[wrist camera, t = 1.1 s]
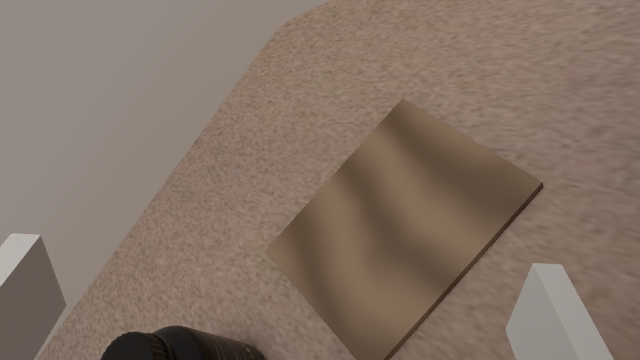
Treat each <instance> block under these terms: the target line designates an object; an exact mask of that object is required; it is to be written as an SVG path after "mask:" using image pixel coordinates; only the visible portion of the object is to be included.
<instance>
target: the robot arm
mask: <svg viewBox="0 0 640 360" xmlns="http://www.w3.org/2000/svg"><path fill="white" fill-rule="evenodd" d="M65 307H66V303H65V300H64V297H63V294H62V292H61V289H60V287H59V284H58V281H57V278H56V275H55V273H54V270H53V267H52V265H51V262H50V259H49V257H48V254H47V251H46V248H45V246H44V243H43V240H42V238H41V235H30V234H14V233H13V234H11V235H10V236H9V237H8V238H7V240H6V241H5V242H4V243H3V244H2V246H1V247H0V360H34V359H35V357H36V355H37V354H38V352H39V350H40V349H41V347H42V345H43V344H44V342H45V340H46V339H47V337H48V335H49V334H50V332H51V330H52V328H53V327H54V325H55V323H56V322H57V320H58V319H59V317H60V315H61V314H62V312H63V310H64V309H65ZM505 331H506V334H507V336H508V339H509V342H510V345H511V348H512V350H513V353H514V356H515V359H516V360H614V359H613V357H612V356H611V354H610V352H609V350H608V348H607V346H606V345H605V343H604V341H603V339H602V337H601V336H600V334H599V332H598V330H597V328H596V326H595V325H594V323H593V321H592V319H591V317H590V316H589V314H588V312H587V310H586V308H585V306H584V305H583V303H582V301H581V299H580V297H579V295H578V294H577V292H576V290H575V288H574V286H573V285H572V283H571V281H570V279H569V277H568V275H567V274H566V272H565V270H564V268H563V266H562V265H561V264H543V263H533V264H532V266H531V269H530V271H529V274H528V276H527V278H526V281H525V283H524V286H523V288H522V290H521V293H520V295H519V298H518V300H517V303H516V305H515V307H514V310H513V312H512V315H511V317H510V319H509V322H508V324H507V327H506V329H505Z"/></svg>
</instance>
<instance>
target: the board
mask: <svg viewBox="0 0 640 360" xmlns="http://www.w3.org/2000/svg"><path fill="white" fill-rule="evenodd" d="M542 188H543V183H542V182H541V181H539V180H538V179H536V178H534V177H533V176H531V175H530V174H528V173H526V172H525V171H523V170H521V169H520V168H518V167H516V166H515V165H513V164H511V163H510V162H508V161H506V160H505V159H503V158H501V157H500V156H498V155H496V154H495V153H493V152H491V151H490V150H488V149H486V148H485V147H483V146H481V145H480V144H478V143H476V142H475V141H473V140H471V139H470V138H468V137H466V136H465V135H463V134H461V133H460V132H458V131H456V130H455V129H453V128H451V127H450V126H448V125H446V124H445V123H443V122H441V121H440V120H438V119H436V118H435V117H433V116H431V115H430V114H428V113H426V112H425V111H423V110H421V109H420V108H418V107H416V106H415V105H413V104H411V103H410V102H408V101H406V100H405V99H403V98H402V99H401V101H400V102H399V103H398V104H397V105H396V106H395V107H394V108H393V109H392V111H391V112H390V113H389V114H388V115H387V116H386V117H385V118H384V119H383V121H382V122H381V123H380V124H379V125H378V126H377V127H376V128H375V129H374V131H373V132H372V133H371V134H370V135H369V136H368V137H367V138H366V139H365V141H364V142H363V143H362V144H361V145H360V146H359V147H358V148H357V149H356V151H355V152H354V153H353V154H352V155H351V156H350V157H349V158H348V159H347V161H346V162H345V163H344V164H343V165H342V166H341V167H340V168H339V169H338V171H337V172H336V173H335V174H334V175H333V176H332V177H331V178H330V179H329V181H328V182H327V183H326V184H325V185H324V186H323V187H322V188H321V189H320V191H319V192H318V193H317V194H316V195H315V196H314V197H313V198H312V199H311V201H310V202H309V203H308V204H307V205H306V206H305V207H304V208H303V209H302V211H301V212H300V213H299V214H298V215H297V216H296V217H295V218H294V219H293V221H292V222H291V223H290V224H289V225H288V226H287V227H286V228H285V229H284V231H283V232H282V233H281V234H280V235H279V236H278V237H277V238H276V239H275V241H274V242H273V243H272V244H271V245H270V246H269V247H268V248H267V249H266V253H267V254H268V255H269V256H270V257H271V258H272V260H273V261H274V262H275V263H276V264H277V266H278V267H279V268H280V269H281V270H282V271H283V273H284V274H285V275H286V276H287V277H288V279H289V280H290V281H291V282H292V283H293V285H294V286H295V287H296V288H297V289H298V290H299V292H300V293H301V294H302V295H303V296H304V298H305V299H306V300H307V301H308V302H309V304H310V305H311V306H312V307H313V308H314V309H315V311H316V312H317V313H318V314H319V315H320V317H321V318H322V319H323V320H324V321H325V322H326V324H327V325H328V326H329V327H330V328H331V330H332V331H333V332H334V333H335V334H336V336H337V337H338V338H339V339H340V340H341V341H342V343H343V344H344V345H345V346H346V347H347V349H348V350H349V351H350V352H351V353H352V355H353V356H354V357H355V358H356V359H357V360H389V359H390V357H391V356H392V355H393V354H394V353H395V352H396V351H397V350H398V349H399V347H400V346H401V345H402V344H403V343H404V342H405V341H406V340H407V338H408V337H409V336H410V335H411V334H412V333H413V332H414V331H415V330H416V328H417V327H418V326H419V325H420V324H421V323H422V322H423V321H424V319H425V318H426V317H427V316H428V315H429V314H430V313H431V312H432V311H433V309H434V308H435V307H436V306H437V305H438V304H439V303H440V302H441V300H442V299H443V298H444V297H445V296H446V295H447V294H448V293H449V292H450V290H451V289H452V288H453V287H454V286H455V285H456V284H457V283H458V281H459V280H460V279H461V278H462V277H463V276H464V275H465V274H466V273H467V271H468V270H469V269H470V268H471V267H472V266H473V265H474V264H475V262H476V261H477V260H478V259H479V258H480V257H481V256H482V255H483V254H484V252H485V251H486V250H487V249H488V248H489V247H490V246H491V245H492V244H493V242H494V241H495V240H496V239H497V238H498V237H499V236H500V235H501V233H502V232H503V231H504V230H505V229H506V228H507V227H508V226H509V225H510V223H511V222H512V221H513V220H514V219H515V218H516V217H517V216H518V214H519V213H520V212H521V211H522V210H523V209H524V208H525V207H526V206H527V204H528V203H529V202H530V201H531V200H532V199H533V198H534V197H535V195H536V194H537V193H538V192H539V191H540V190H541V189H542Z"/></svg>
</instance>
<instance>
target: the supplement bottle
mask: <svg viewBox="0 0 640 360" xmlns="http://www.w3.org/2000/svg"><path fill="white" fill-rule="evenodd" d="M100 360H264V358H263V357H262V355H261V354H260V353H259V352H258V351H257V350H256V349H255V348H254V347H252V346H250V345H248V344H245V343H242V342H239V341H235V340H232V339H228V338H224V337H221V336H217V335H213V334H210V333H206V332H202V331H199V330H195V329H191V328H188V327H183V326H168V327H164V328H162V329H159V330H157V331H155V332H154V333H141V332H128V333H126V334H122V335H121V336H119V337H117V338H116V339H115V340H114V341H112V343H111V344H110V345H109V346H108V347H107V349H106V351H105V352H104V353H103V355H102V358H101V359H100Z"/></svg>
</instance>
